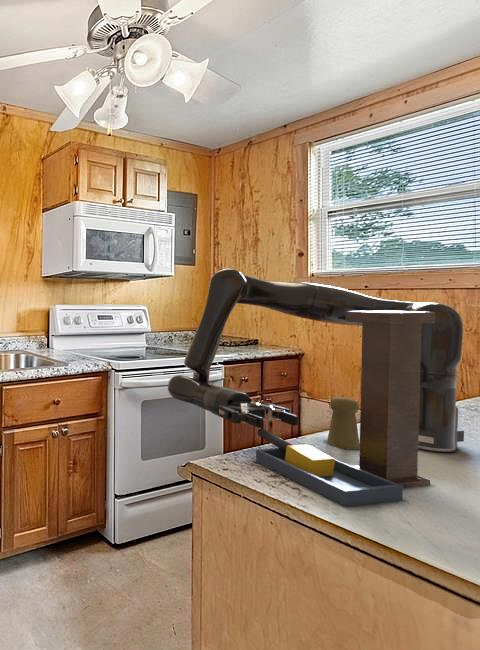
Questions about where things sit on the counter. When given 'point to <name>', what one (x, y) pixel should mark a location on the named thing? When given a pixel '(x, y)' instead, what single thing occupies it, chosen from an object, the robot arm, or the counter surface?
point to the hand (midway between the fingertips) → (279, 422)
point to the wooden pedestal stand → (390, 393)
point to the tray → (335, 480)
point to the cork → (344, 424)
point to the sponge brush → (302, 455)
